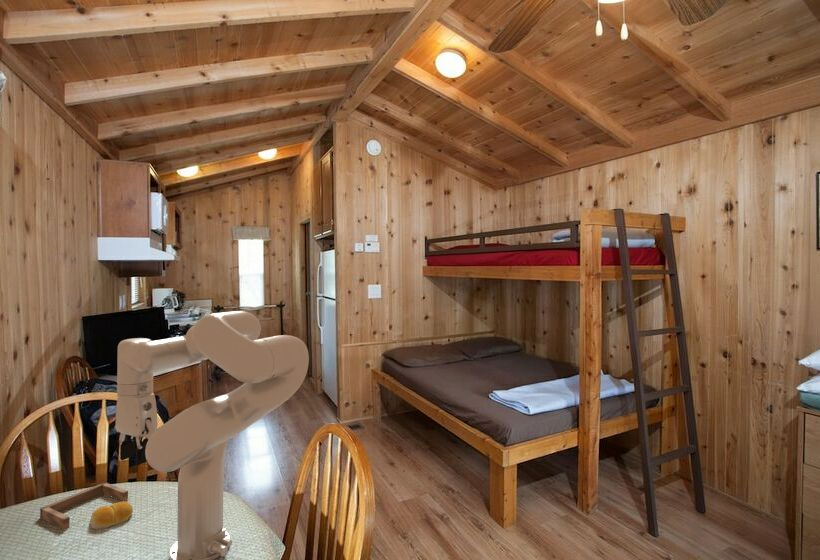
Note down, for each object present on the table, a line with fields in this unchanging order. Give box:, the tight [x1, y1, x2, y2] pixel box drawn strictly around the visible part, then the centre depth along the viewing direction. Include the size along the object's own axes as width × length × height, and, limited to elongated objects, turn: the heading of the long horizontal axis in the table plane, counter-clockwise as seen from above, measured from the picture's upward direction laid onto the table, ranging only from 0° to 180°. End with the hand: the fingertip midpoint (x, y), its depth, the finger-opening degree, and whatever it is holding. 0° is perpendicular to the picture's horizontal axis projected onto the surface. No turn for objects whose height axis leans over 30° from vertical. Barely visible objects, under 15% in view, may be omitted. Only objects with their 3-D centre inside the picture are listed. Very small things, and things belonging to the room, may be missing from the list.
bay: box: [39, 482, 129, 530], centre depth 112 cm, size 11×15×2 cm
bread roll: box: [89, 501, 134, 530], centre depth 108 cm, size 8×9×4 cm
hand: (134, 459), depth 104 cm, fingers open, 5 cm apart
